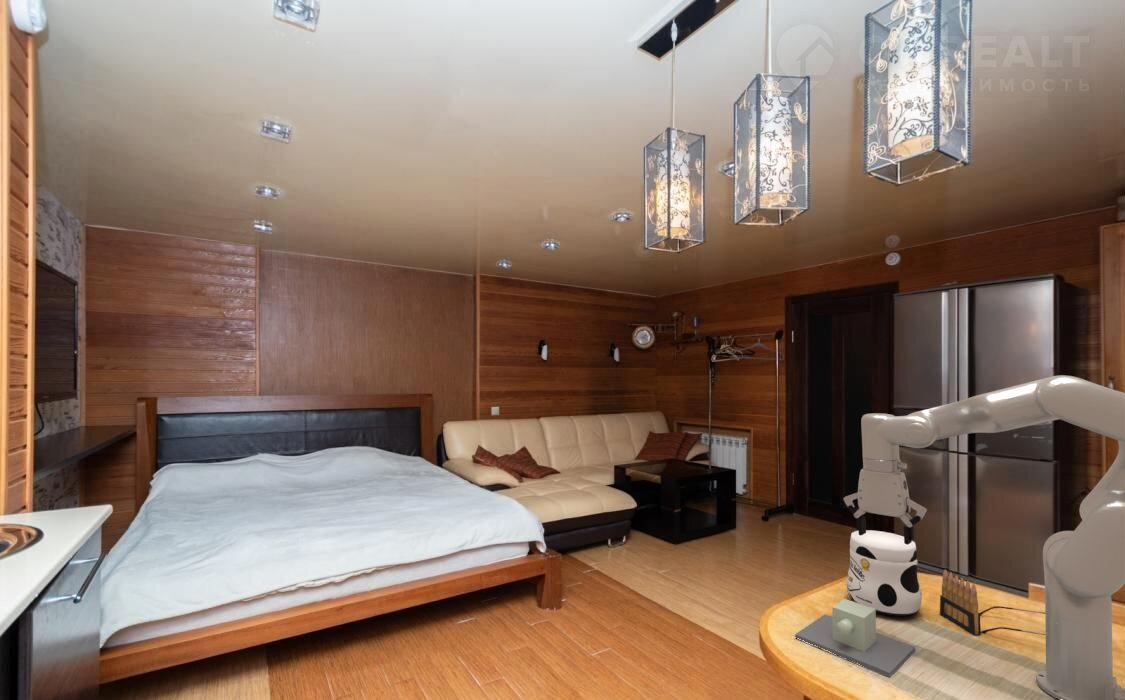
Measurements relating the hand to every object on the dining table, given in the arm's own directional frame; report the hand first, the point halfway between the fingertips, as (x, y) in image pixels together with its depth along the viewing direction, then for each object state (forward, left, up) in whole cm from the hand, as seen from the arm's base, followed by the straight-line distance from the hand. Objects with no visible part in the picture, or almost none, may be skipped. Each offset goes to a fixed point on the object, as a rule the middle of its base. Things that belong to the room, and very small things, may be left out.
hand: (884, 538), depth 125 cm
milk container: (+7, -19, -24) cm, 32 cm away
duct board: (+4, +8, -24) cm, 25 cm away
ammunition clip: (-9, -23, -24) cm, 35 cm away
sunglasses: (-20, -30, -25) cm, 43 cm away
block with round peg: (+4, +10, -23) cm, 25 cm away
